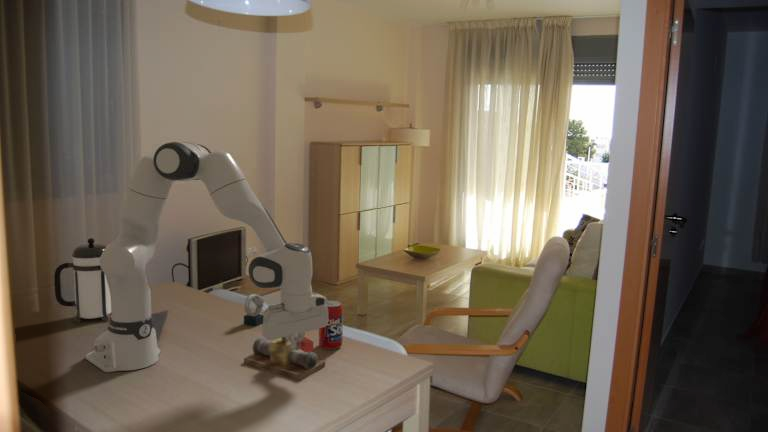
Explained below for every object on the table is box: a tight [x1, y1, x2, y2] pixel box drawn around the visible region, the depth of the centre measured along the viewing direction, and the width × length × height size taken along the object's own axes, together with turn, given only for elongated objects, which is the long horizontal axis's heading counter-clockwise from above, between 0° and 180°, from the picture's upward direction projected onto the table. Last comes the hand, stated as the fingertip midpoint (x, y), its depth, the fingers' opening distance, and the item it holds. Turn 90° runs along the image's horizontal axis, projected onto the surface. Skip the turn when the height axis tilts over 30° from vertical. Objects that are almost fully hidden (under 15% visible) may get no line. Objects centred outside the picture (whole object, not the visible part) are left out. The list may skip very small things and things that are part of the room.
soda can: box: [318, 300, 344, 350], centre depth 190 cm, size 8×8×15 cm
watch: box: [243, 293, 265, 327], centre depth 210 cm, size 6×8×11 cm
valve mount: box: [243, 337, 326, 381], centre depth 175 cm, size 22×12×9 cm, turn 60°
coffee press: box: [53, 237, 111, 324], centre depth 209 cm, size 17×16×30 cm
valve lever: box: [281, 334, 314, 353], centre depth 170 cm, size 16×3×3 cm, turn 40°
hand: (295, 347), depth 165 cm, fingers closed
